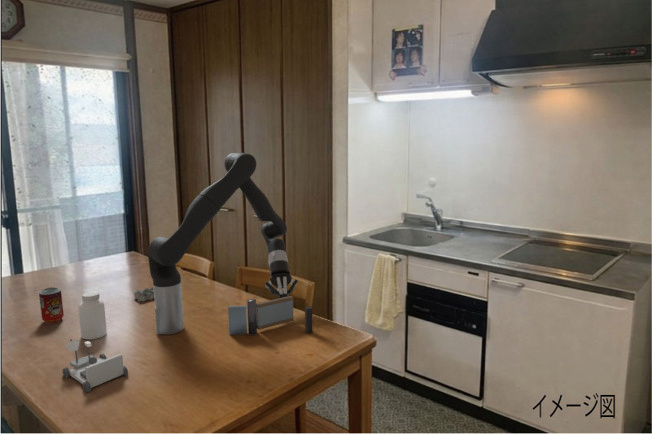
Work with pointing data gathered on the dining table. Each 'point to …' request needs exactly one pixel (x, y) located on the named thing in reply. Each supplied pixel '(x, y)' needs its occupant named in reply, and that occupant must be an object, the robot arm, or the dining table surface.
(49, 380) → the dining table surface
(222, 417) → the dining table surface
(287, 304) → the gate
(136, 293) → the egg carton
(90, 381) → the toy space rover
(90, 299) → the pill bottle
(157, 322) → the robot arm
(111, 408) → the dining table surface
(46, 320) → the soda can
